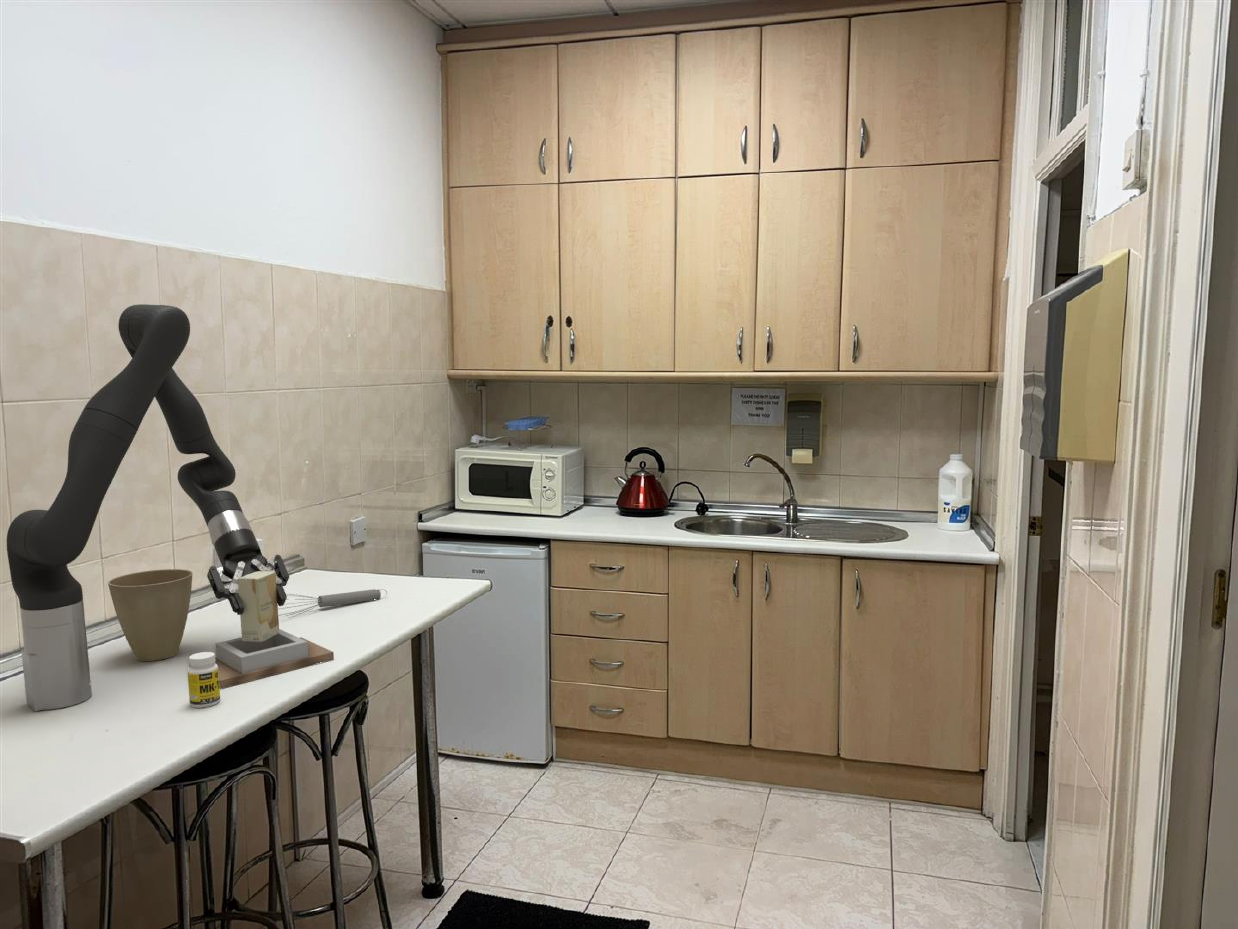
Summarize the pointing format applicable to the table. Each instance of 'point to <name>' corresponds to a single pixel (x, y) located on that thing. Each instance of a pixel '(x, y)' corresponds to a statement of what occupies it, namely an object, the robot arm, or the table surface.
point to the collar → (261, 652)
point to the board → (234, 677)
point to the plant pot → (152, 610)
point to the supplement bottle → (203, 680)
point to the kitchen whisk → (339, 599)
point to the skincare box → (258, 606)
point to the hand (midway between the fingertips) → (262, 608)
